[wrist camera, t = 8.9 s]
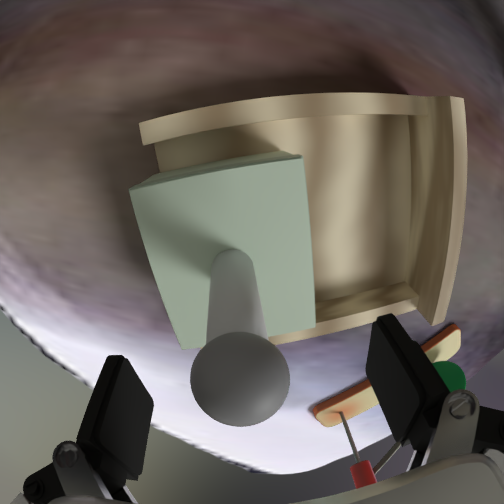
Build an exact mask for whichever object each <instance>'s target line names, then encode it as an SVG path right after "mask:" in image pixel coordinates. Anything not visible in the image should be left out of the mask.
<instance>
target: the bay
mask: <svg viewBox="0 0 504 504" xmlns="http://www.w3.org/2000/svg"><path fill="white" fill-rule="evenodd" d="M139 127H140V133H141V138H142V143H143V145H148V144H153V143H154V147H155V152H156V157H157V161H158V166H159V171H160V173H162V172H167V171H171V170H175V169H180V168H184V167H189V166H194V165H199V164H204V163H209V162H214V161H219V160H225V159H230V158H236V157H242V156H248V155H255V154H261V153H268V152H275V151H285V152H288V153H290V154H293V155H296V154H299V155H302V156H303V158H304V166H305V175H306V185H307V194H308V205H309V216H310V228H311V241H312V255H313V272H314V291H315V316H316V327H315V328H310V329H306V330H301V331H296V332H291V333H286V334H281V335H276V336H270V337H268V340H269V341H270V342H271V343H272V344H274V345H277V344H283V343H288V342H293V341H298V340H302V339H307V338H312V337H316V336H321V335H325V334H329V333H333V332H337V331H342V330H346V329H349V328H353V327H357V326H361V325H365V324H368V323H372V322H374V321H376V319H377V317H378V316H382V315H385V314H389V313H392V314H394V316H396V315H399V314H403V313H406V312H409V311H412V310H415V309H417V310H418V311H419V312H420V313H421V314H422V315H423V316H424V318H425V319H426V320H427V321H428V322H429V323H430V325H431V326H434V325H436V324H439V323H441V322H444V319H445V316H446V312H447V308H448V305H449V301H450V297H451V292H452V288H453V284H454V279H455V274H456V269H457V264H458V258H459V252H460V246H461V239H462V232H463V223H464V214H465V202H466V186H467V134H466V118H465V107H464V99H463V98H458V97H452V96H434V97H423V96H413V95H401V94H386V93H314V94H298V95H285V96H275V97H266V98H257V99H250V100H243V101H236V102H230V103H224V104H218V105H213V106H207V107H202V108H197V109H193V110H188V111H183V112H179V113H175V114H171V115H167V116H163V117H159V118H155V119H151V120H148V121H144V122H141V123H139ZM200 348H201V349H202V348H203V347H200Z"/></svg>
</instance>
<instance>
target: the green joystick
mask: <svg viewBox="0 0 504 504" xmlns="http://www.w3.org/2000/svg"><path fill="white" fill-rule="evenodd" d="M128 190H129V194H130V198H131V201H132V205H133V209H134V213H135V216H136V220H137V223H138V227H139V230H140V234H141V237H142V240H143V244H144V247H145V250H146V253H147V257H148V260H149V263H150V266H151V269H152V272H153V275H154V278H155V281H156V284H157V286H158V289H159V292H160V295H161V298H162V300H163V303H164V306H165V309H166V311H167V314H168V316H169V319H170V322H171V324H172V327H173V329H174V332H175V334H176V337H177V339H178V342H179V344H180V346H181V349H182V350H183V349H191V348H199V347H203V348H202V349H201V350H200V351H199V353H198V354H197V356H196V358H195V360H194V362H193V365H192V368H191V375H190V383H191V389H192V393H193V395H194V398H195V400H196V402H197V403H198V405H199V406H200V408H201V409H202V410H203V411H204V412H205V413H206V414H207V415H209V416H210V417H211V418H213V419H214V420H216V421H218V422H220V423H223V424H226V425H230V426H237V427H244V426H251V425H255V424H258V423H261V422H263V421H265V420H267V419H268V418H270V417H271V416H272V415H274V414H275V413H276V412H277V411H278V410H279V409H280V407H281V406H282V404H283V403H284V401H285V399H286V397H287V394H288V390H289V385H290V374H289V369H288V365H287V363H286V360H285V358H284V356H283V355H282V353H281V352H280V351H279V349H278V348H277V347H276V346H275V345H274V344H272V343H271V342H270V341H269V340H268V337H270V336H276V335H281V334H286V333H291V332H296V331H301V330H306V329H310V328H315V327H316V316H315V291H314V272H313V255H312V241H311V228H310V216H309V205H308V194H307V185H306V175H305V166H304V158H303V156H302V155H299V154H296V155H293V154H290V153H288V152H285V151H275V152H268V153H261V154H255V155H248V156H242V157H236V158H230V159H225V160H219V161H214V162H209V163H204V164H199V165H194V166H189V167H184V168H180V169H175V170H171V171H167V172H162V173H158V174H154V175H152V176H151V177H149V178H148V179H146V180H145V181H143V182H142V183H140V184H137V185H134V186H132V187H131V188H129V189H128Z"/></svg>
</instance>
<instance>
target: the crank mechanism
mask: <svg viewBox="0 0 504 504" xmlns="http://www.w3.org/2000/svg"><path fill="white" fill-rule="evenodd" d="M460 345H461V331H460V329H459V328H458V327H457V326H456V325H455V324H452V325H450V326H448V327H447V328H446V329H445V330H443V331H442V332H440V333H439V334H438V335H436V336H435V337H434V338H432V339H431V340H429V341H428V342H427V343H425V344H424V345H422V346H421V348H422V349H423V351H424V352H425V354H426V355H427V357H428V358H429V360H430V361H431V363H432V364H433V366H434V367H435V369H436V370H437V372H438V373H439V375H440V376H441V378H442V379H443V381H444V383H445V384H446V386H447V387H448V389H449V391H450V392H452V391H454V390H458V389H465V386H466V379H465V375H464V372H463V371H462V369H461V368H460V367H459V366H458V365H456V364H455V363H453V362H449V361H446V360H448V359H449V358H450V357H452V356H453V355H454V354H455V353H456V352H457V351H458V350H459V348H460ZM377 404H379V402H378V399H377V397H376V395H375V393H374V390H373V388H372V386H371V384H370V382H369V379H367V380H366V381H364V382H362V383H360V384H358V385H356V386H354V387H353V388H351V389H349V390H347V391H345V392H343V393H341V394H339V395H337V396H335V397H333V398H331V399H329V400H327V401H324V402H322V403H320V404H318V405H317V406H315V407H314V409H313V412H314V416H315V418H316V419H317V420H318V421H319V422H320V423H321V424H322V425H323V426H325V427H332V426H335V425H337V424H340V423H342V422H343V425H344V427H345V430H346V433H347V436H348V439H349V442H350V444H351V447H352V450H353V453H354V456H355V459H356V462H357V463H356V464H354V465H353V466H351V468H350V470H351V473H352V476H353V480H354V483H355V486H356V489H358V488H361V487H364V486H368V485H371V484H374V483H377V481H376V478H375V474H376V473H377V472H378V471H379V470H380V469H381V467H382V466H383V465H384V464H385V463H386V462H387V461H388V460H389V459H390V457H391V456H392V455H393V454H394V453H395V452H396V450H397V449H398V448H399V447H400V446H401V443H400V441H399V442H396V443H395V444H394V446H393V447H392V448H391V449H390V450H389V451H388V453H387V454H386V455H385V456H384V457H383V458H382V459H381V460H380V462H379V463H378V464H377V465H376V466H375V467H374V468H373V469H372V467H371V464H370V461H368V460H365V461H360V458H359V455H358V452H357V449H356V447H355V444H354V441H353V438H352V435H351V433H350V430H349V427H348V424H347V422H346V420H348V419H350V418H352V417H354V416H356V415H358V414H360V413H362V412H364V411H366V410H368V409H370V408H372V407H374V406H376V405H377Z"/></svg>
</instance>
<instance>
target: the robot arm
mask: <svg viewBox="0 0 504 504" xmlns="http://www.w3.org/2000/svg"><path fill="white" fill-rule="evenodd" d="M366 375H367V377H368V379H369V382H370V384H371V386H372V388H373V390H374V393H375V395H376V397H377V399H378V402H379V404H380V406H381V408H382V411H383V413H384V415H385V418H386V420H387V422H388V425H389V427H390V429H391V432H392V434H393V436H394V439H395V440H396V442H399V441H400V443H401V445H402V447H403V446H405V445H408V444H410V443H411V445H412V447H413V449H414V450H415V451H414V454H413V456H412V459H411V461H410V464H409V466H408V469H407V471H406V472H405V473H402V474H400V475H397V476H394V477H391V478H389V479H386V480H383V481H380V482H377V483H374V484H371V485H368V486H364V487H361V488H358V489H355V490H351V491H347V492H344V493H340V494H336V495H332V496H328V497H324V498H319V499H314V500H309V501H303V502H298V503H291V504H504V411H500V410H496V409H491V408H487V407H483V406H479V401H478V399H477V397H476V396H475V394H473V393H472V392H470V391H468V390H465V389H458V390H454V391H452V392H450V391H449V389H448V387H447V386H446V384H445V383H444V381H443V379H442V378H441V376H440V375H439V373H438V372H437V370H436V369H435V367H434V366H433V364H432V363H431V361H430V360H429V358H428V357H427V355H426V354H425V352H424V351H423V349H422V348H421V347H420V345H419V344H418V343H417V342H416V341H412V340H411V338H410V337H409V335H408V334H407V332H406V331H405V330H404V328H403V327H402V325H401V324H400V323H399V321H398V320H397V318H396V317H395V316H394V314H392V313H389V314H385V315H382V316H378V317H377V319H376V321H374V322H373V324H372V331H371V338H370V345H369V351H368V357H367V363H366ZM153 407H154V403H153V399H152V397H151V396H150V394H149V393H148V391H147V390H146V388H145V387H144V385H143V383H142V382H141V380H140V379H139V377H138V375H137V374H136V372H135V370H134V369H133V367H132V365H131V364H130V362H129V360H128V359H127V358H124V356H122V355H109V356H108V357H107V358H106V361H105V363H104V365H103V368H102V370H101V373H100V375H99V378H98V380H97V383H96V385H95V388H94V390H93V393H92V396H91V399H90V401H89V404H88V406H87V409H86V412H85V415H84V418H83V421H82V423H81V426H80V429H79V432H78V435H77V438H76V439H77V441H76V443H75V442H73V441H64V442H61V443H60V444H59V445H57V447H56V448H55V449H54V452H53V457H52V459H53V462H52V463H51V464H49V465H47V466H46V467H44V468H42V469H41V470H39V471H37V472H35V473H34V474H32V475H30V476H29V477H28V478H27V479H26V480H25V482H24V485H23V491H24V494H23V493H20V494H19V495H18V496H17V497H16V498H15V499H14V500H13V501H12V503H11V504H138V503H137V501H136V500H135V499H134V497H133V496H132V494H131V493H130V491H129V490H128V488H127V487H126V485H125V483H126V479H129V480H137V481H138V475H140V474H141V473H142V470H143V463H144V457H145V451H146V445H147V439H148V433H149V428H150V423H151V418H152V412H153Z"/></svg>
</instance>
